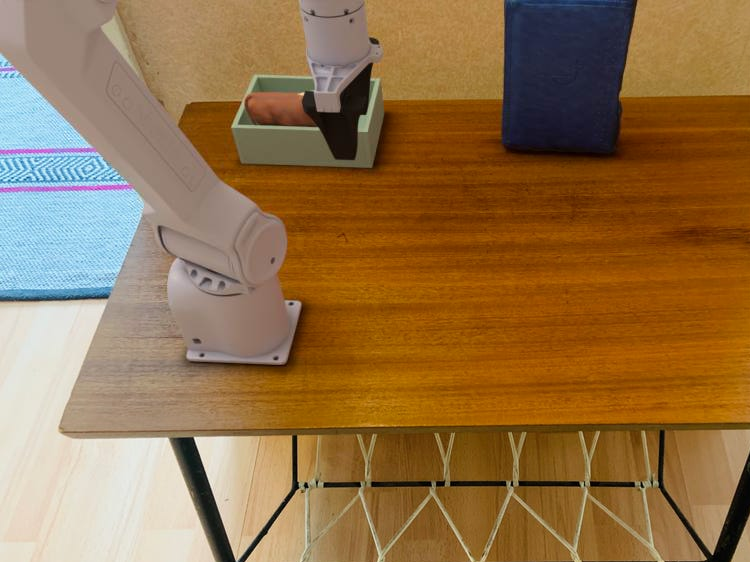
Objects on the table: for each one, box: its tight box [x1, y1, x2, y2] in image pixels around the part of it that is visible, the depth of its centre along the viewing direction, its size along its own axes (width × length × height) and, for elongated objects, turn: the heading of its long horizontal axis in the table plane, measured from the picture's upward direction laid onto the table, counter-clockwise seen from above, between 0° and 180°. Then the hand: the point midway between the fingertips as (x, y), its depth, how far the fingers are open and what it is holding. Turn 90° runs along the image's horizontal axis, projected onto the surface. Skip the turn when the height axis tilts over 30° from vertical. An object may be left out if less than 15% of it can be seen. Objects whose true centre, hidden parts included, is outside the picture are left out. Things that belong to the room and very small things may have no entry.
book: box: [500, 0, 639, 154], centre depth 87 cm, size 14×5×20 cm, turn 86°
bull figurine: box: [244, 92, 318, 127], centre depth 90 cm, size 4×13×8 cm, turn 82°
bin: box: [230, 74, 385, 169], centre depth 94 cm, size 16×11×5 cm
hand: (351, 134), depth 78 cm, fingers open, 7 cm apart
